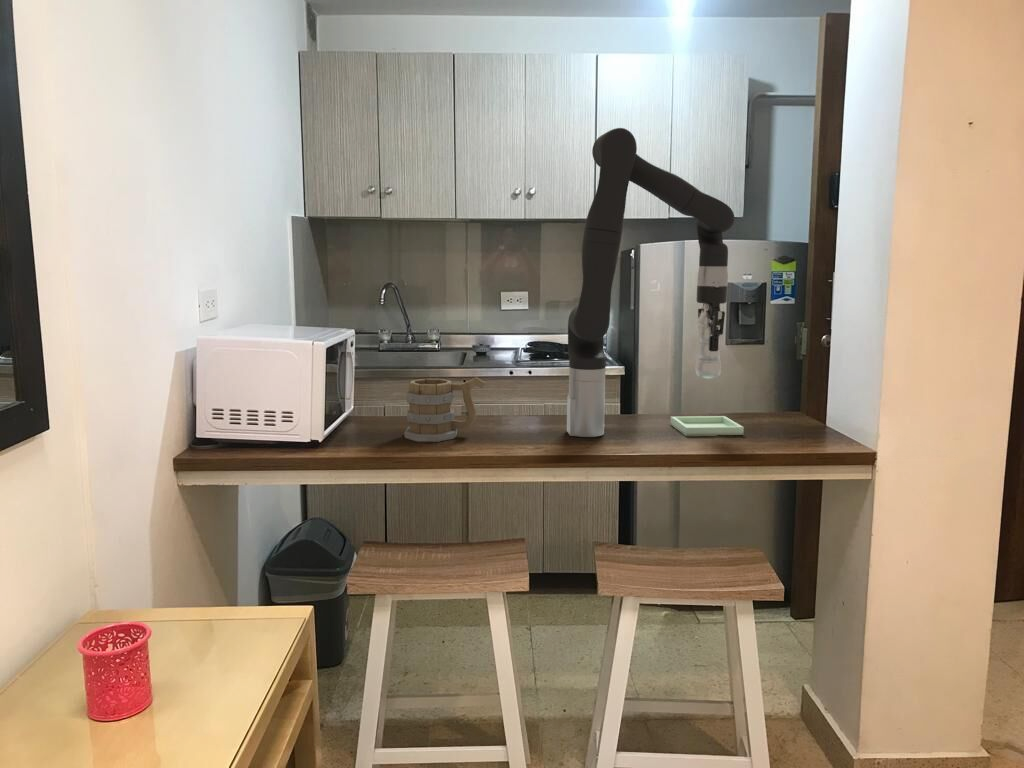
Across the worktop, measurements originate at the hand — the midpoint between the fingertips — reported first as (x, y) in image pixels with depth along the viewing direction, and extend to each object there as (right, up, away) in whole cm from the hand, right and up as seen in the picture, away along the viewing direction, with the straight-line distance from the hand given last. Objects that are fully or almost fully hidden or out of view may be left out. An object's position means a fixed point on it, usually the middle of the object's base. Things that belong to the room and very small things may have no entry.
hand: (709, 349), depth 191 cm
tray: (0, -21, +3) cm, 21 cm away
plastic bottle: (0, -8, +1) cm, 8 cm away
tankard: (-68, -22, -5) cm, 72 cm away
